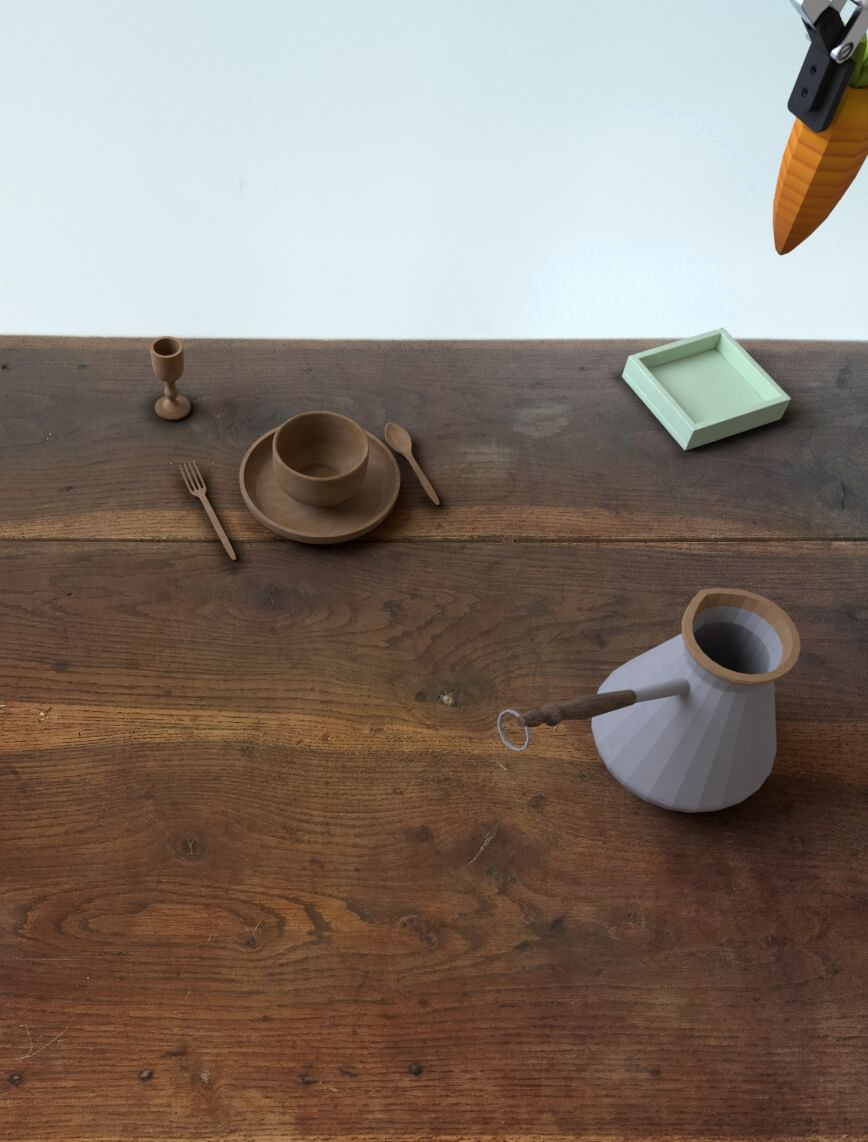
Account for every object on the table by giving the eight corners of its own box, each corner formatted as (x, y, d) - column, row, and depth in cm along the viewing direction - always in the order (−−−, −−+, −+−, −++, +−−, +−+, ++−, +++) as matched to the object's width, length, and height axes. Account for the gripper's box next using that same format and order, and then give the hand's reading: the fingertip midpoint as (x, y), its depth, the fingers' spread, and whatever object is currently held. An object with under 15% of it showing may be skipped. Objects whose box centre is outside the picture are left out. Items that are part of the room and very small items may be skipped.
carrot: (766, 283, 71) (871, 40, 58) (730, 238, 74) (824, -4, 61) (831, 270, 72) (950, 28, 59) (794, 226, 75) (900, -16, 62)
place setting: (237, 585, 76) (234, 529, 71) (143, 403, 85) (135, 341, 80) (456, 514, 80) (468, 455, 75) (343, 347, 89) (347, 285, 84)
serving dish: (714, 347, 90) (723, 326, 88) (780, 419, 86) (791, 398, 84) (621, 376, 88) (628, 355, 86) (684, 451, 84) (693, 430, 82)
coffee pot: (684, 655, 74) (770, 501, 61) (795, 785, 69) (915, 648, 56) (418, 778, 68) (449, 638, 55) (517, 930, 63) (577, 814, 50)
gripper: (931, -239, 45) (766, 176, 61) (1222, -292, 49) (996, 112, 65) (820, -300, 49) (690, 108, 65) (1100, -345, 53) (913, 51, 68)
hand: (845, 107), depth 64 cm, fingers closed on carrot, 4 cm apart
